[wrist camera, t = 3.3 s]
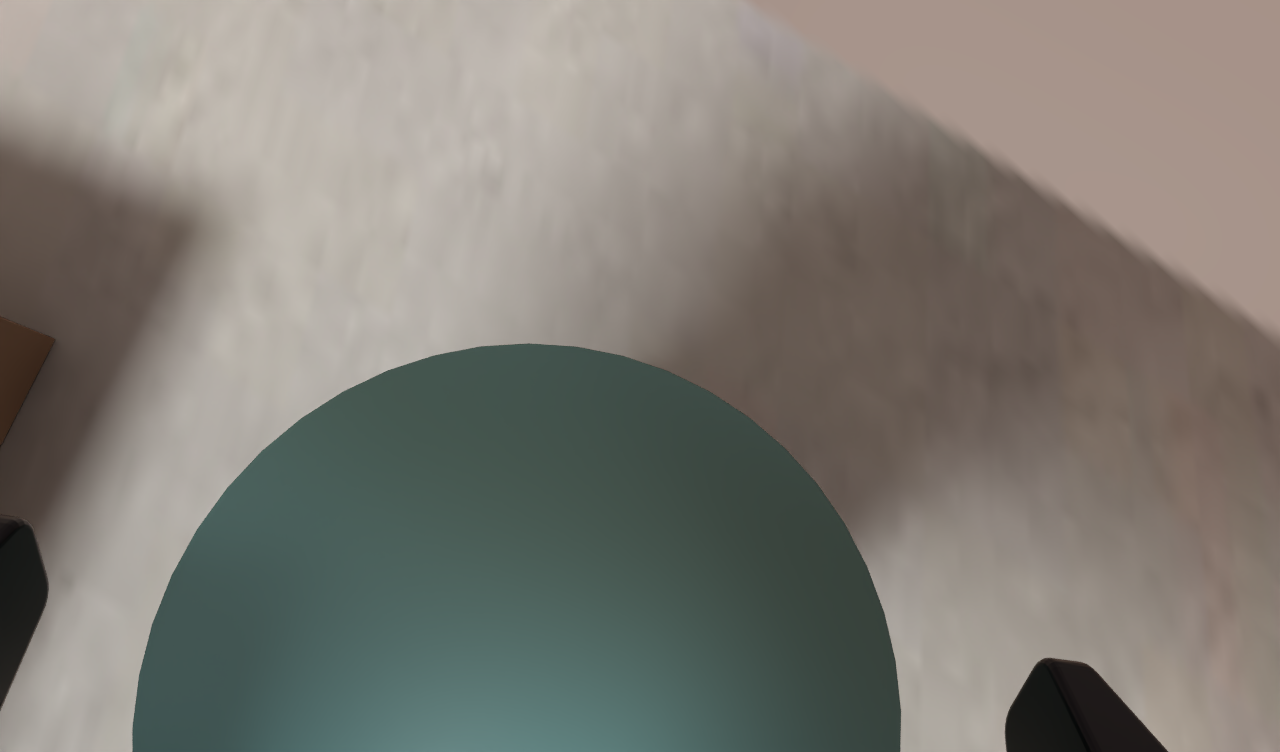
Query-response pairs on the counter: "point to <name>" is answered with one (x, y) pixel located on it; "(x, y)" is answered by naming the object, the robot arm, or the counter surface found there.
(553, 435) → the teal peg
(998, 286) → the counter surface
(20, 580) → the robot arm
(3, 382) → the walnut socket block
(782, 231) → the counter surface
